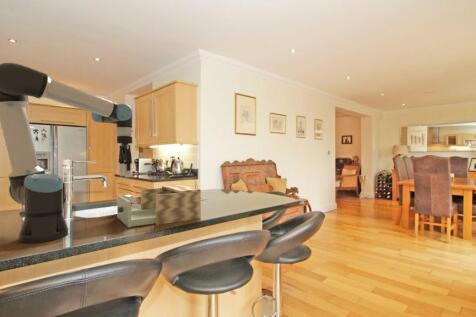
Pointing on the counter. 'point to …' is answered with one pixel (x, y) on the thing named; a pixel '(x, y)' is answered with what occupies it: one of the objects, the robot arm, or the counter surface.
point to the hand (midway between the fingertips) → (125, 176)
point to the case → (172, 203)
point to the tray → (134, 214)
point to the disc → (128, 196)
